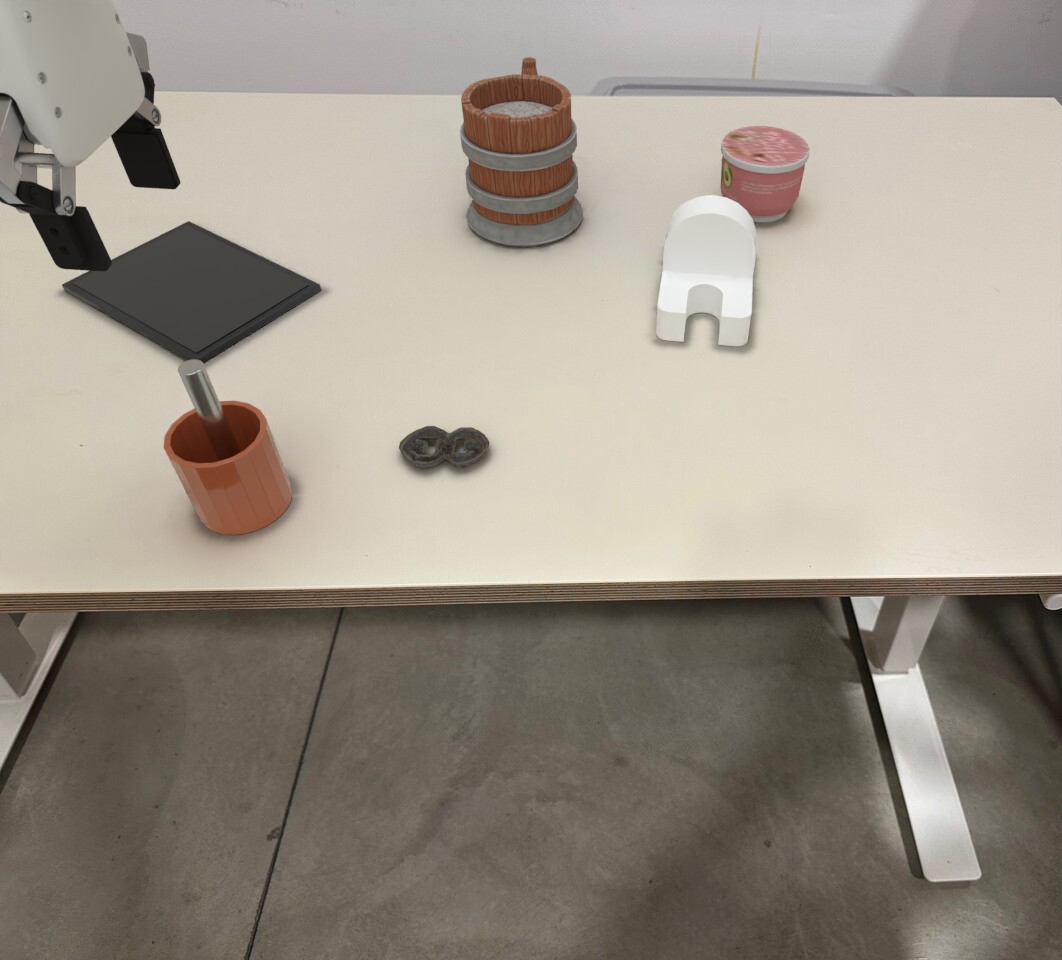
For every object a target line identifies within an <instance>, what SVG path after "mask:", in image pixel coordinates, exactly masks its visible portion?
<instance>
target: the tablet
mask: <svg viewBox="0 0 1062 960" xmlns="http://www.w3.org/2000/svg"><path fill="white" fill-rule="evenodd" d="M111 262H112V265H111V266H110V268H109V269H108V270H107V271H86V272H84V273H82V274H80V275H78V276H76V277H74V278H72V279H70V280H68V281H66V282H64V283H62V284H61V287H62V288H63V290H64V292H66V293H68V294H70V295H71V296H73V297H75V298H77V299H78V300H80V301H82V302H84V303H85V304H87V305H89V306H91V307H92V308H93V309H96V310H97V311H99V312H101V313H103V314H104V315H106V316H108V317H110V318H111V319H113V320H114V321H117V322H119V323H120V324H122V325H124V326H125V327H127V328H129V329H131V330H133V331H134V332H136V333H137V334H140V335H141V336H142V337H144V338H146V339H148V340H150V341H151V342H154V343H155V344H157V345H159V346H161V347H162V348H164V349H166V350H167V351H169V352H170V353H173V354H174V355H176V356H178V357H180V358H181V359H184V360H185V361H187V360H192V359H196V360H200V361H202V362H203V364H205V363H206V362H208V361H209V360H211V359H213V358H214V357H216V356H218V355H219V354H220V353H222V352H224V351H226V350H227V349H229V348H231V347H232V346H234V345H236V344H237V343H239V342H241V341H242V340H243V339H245V338H247V337H248V336H251V334H253V333H255V332H257V331H258V330H260V329H261V328H262V327H264V326H266V325H268V324H270V323H271V322H273V321H274V320H276V319H277V318H279V317H280V316H282V315H284V314H285V313H287V312H289V311H291V310H292V309H294V308H295V307H296V306H299V305H300V304H302V303H304V302H305V301H307V300H308V299H310V298H311V297H313V296H315V295H316V294H318V293H320V292H321V291H322V288H321V284H320V283H318V282H316V281H313V280H311V279H310V278H307V277H306V276H303V275H301V274H299V273H297V272H295V271H293V270H291V269H289V268H286V267H285V266H282V265H280V264H278V263H277V262H274V261H272V260H270V259H268V258H267V257H264V256H262V255H260V254H259V253H258V254H257V253H256V252H254V251H251V250H249V249H247V248H245V247H244V246H241V245H239V244H237V243H235V242H234V241H231V240H229V239H227V238H224V237H223V236H222V235H221V236H220V235H218V234H216V233H214V232H212V231H210V230H208V229H206V228H204V227H202V226H199V225H198V224H195V223H194V222H191V221H189V220H188V221H185V222H184V223H181V224H180V225H177V226H175V227H174V228H172V229H169V230H168V231H166V232H164V233H161V234H160V235H158V236H155V237H154V238H151V239H150V240H148V241H146V242H144V243H142V244H140V245H138V246H136V247H134V248H131V249H130V250H128V251H126V252H124V253H122V254H120V255H118V256H116V257H114V258H111Z"/></svg>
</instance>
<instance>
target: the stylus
mask: <svg viewBox="0 0 1062 960" xmlns="http://www.w3.org/2000/svg"><path fill="white" fill-rule="evenodd" d="M177 373H178V375H179V377H180V380H181V381H182V383H183V386H184V388H185V391H186V393H187V395H188V397H189V399H190V401H191V403H192V406H193V409H195V410H196V412H197V414H198V417H199V419H200V421H201V423H202V425H203V428H204V430H205V432H206V434H207V437H208V439H209V441H210V443H211V445H212V448H213V450H214V452H215V454H216V456H217V459H218V461H221V460H225V459H228V458H231V457H233V456H235V455H237V454H238V453H240V452H241V451H240V449H239V446H238V444H237V442H236V439H235V437H234V435H233V432H232V430H231V427H230V425H229V423H228V420H227V418H226V416H225V413H224V411H223V408H222V406H221V404H220V401H221V400H219V397H218V395H217V392H216V389H215V387H214V385H213V383H212V381H211V378H210V375H209V373H208V370H207V368H206V366H205V363H203V362H202V361H200V360H196V359H192V360H185V361H183V362H181V363H180V364H179V365H178V367H177Z"/></svg>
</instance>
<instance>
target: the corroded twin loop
mask: <svg viewBox="0 0 1062 960" xmlns="http://www.w3.org/2000/svg"><path fill="white" fill-rule="evenodd" d="M429 442H436V443H435V447H434V452H433V453H431V454H424V452H426V451H427V448H428V445H429V444H428V443H429ZM459 442H464V443H463V452H456V447H457V443H459ZM489 447H490V440H489V439H488V438H487V436H486V434H485V433H483V432H481V431H480V430H479V429H476V428H474V427H470V426H469V427H468V426H467V427H466V426H465V427H463V426H461V427H459V428H457V429H455V430H453V431H451V432H448V431H446V430H445V429H442V428H440V427H438V426H436V425H425V426H423V427H421V428H419V429H418V428H417V429H416V430H414V431H412V432H411V433H408V434H407V435H406V436H405V437H403V439H401V440H400V441H399V445H398V449H399V451H400V453H401V455H403V456H404V457H405V458H406V459H407V460H408V461H410V462H411V463H413V464H414V465H415V466H416V467H418V468H420V469H427V468H434V467H436V466H437V465H439V464H440V463H441V462H444V461H448V463H451V464H452V465H454V466H456V467H457V468H464V467H466V466H468V465H472V464H474V463H476V462H478V461H479V460H480V459H481V458H482V457H483V456H484V455H485V454H486V452H487V450H488V449H489Z"/></svg>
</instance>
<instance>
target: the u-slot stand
mask: <svg viewBox="0 0 1062 960" xmlns="http://www.w3.org/2000/svg"><path fill="white" fill-rule="evenodd" d="M756 228H757V227H756V225H755V222H753V219H752V218H751V216H750V215H749V213H748V212H747V210H746V209H744V208H743V207H742V206H741V205H740V204H739V203H737V202H735V201H733V200H731V199H729V198H726V197H723V196H720V195H716V194H710V195H701V196H697V197H694V198H690V199H689V200H687V201H685V202H683V203H682V204H681V205H680V206H679V207H678V208H677V209H676V210H675V211H674V212H673V214H672V215H671V217H670V219H669V221H668V224H667V227H666V232H665V233H666V234H665V239H664V246H663V252H662V253H663V255H662V270H661V279H660V285H659V292H658V298H657V306H656V307H657V308H656V330H655V335H656V337H657V338H658V339H660V340H661V341H662V340H663V341H668V342H669V341H670V342H680V343H684V341H685V334H686V325H687V324H686V323H687V319H688V318H689V317H690V316H692V315H694V314H698V313H705V314H708V315H712V316H713V317H715V318H716V319H717V320H718V323H719V329H718V341H717V342H718V344H717V345H718V346H725V347H726V346H727V347H743V346H746V344H747V343H748V341H749V334H750V327H751V320H752V313H753V288H754V287H753V286H754V285H753V284H754V274H755V273H754V272H755V264H756V258H757V256H756V255H757V254H756V253H757V229H756Z"/></svg>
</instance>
